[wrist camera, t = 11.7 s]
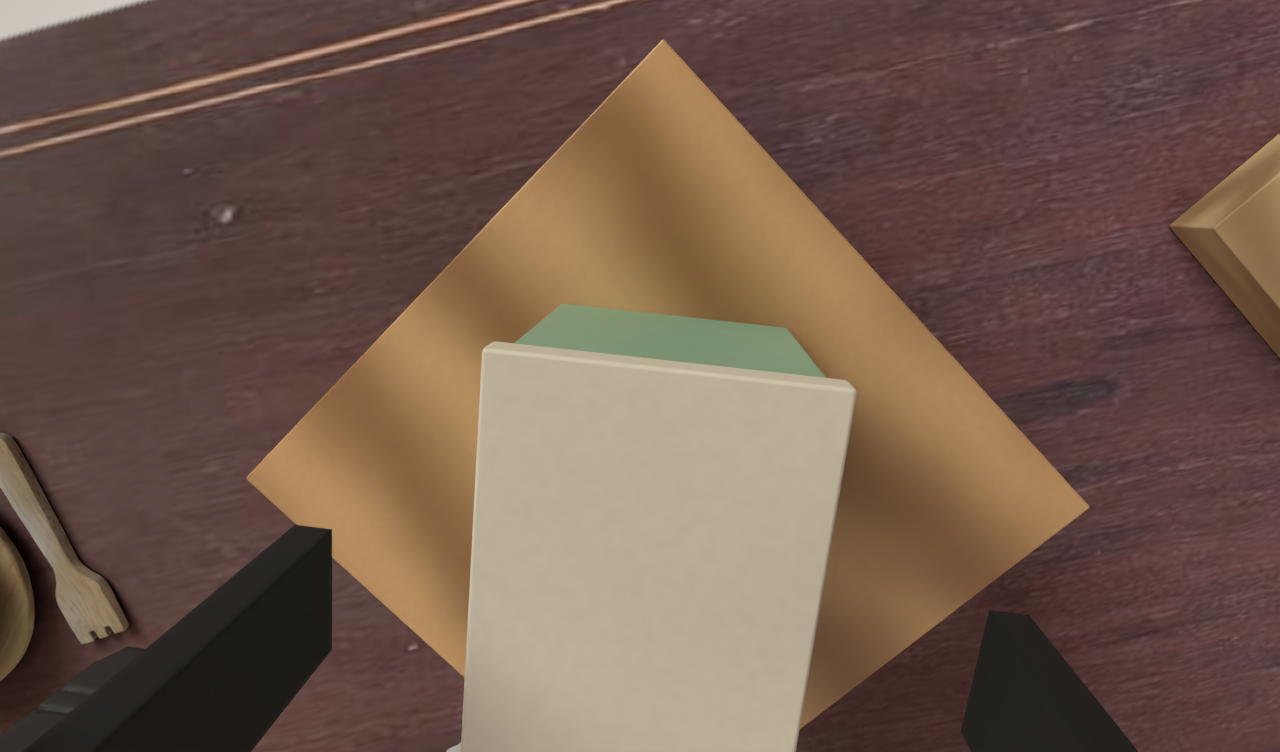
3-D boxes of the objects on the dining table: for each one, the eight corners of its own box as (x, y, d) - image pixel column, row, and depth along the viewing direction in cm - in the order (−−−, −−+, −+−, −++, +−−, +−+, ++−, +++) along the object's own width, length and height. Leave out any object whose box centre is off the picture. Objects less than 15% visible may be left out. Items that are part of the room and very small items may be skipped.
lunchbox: (554, 295, 22) (481, 347, 14) (796, 321, 21) (858, 389, 14) (528, 649, 24) (453, 859, 17) (743, 675, 24) (770, 902, 16)
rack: (672, 104, 34) (663, 38, 20) (937, 391, 36) (1091, 507, 22) (406, 377, 37) (244, 478, 24) (661, 622, 39) (648, 846, 26)
